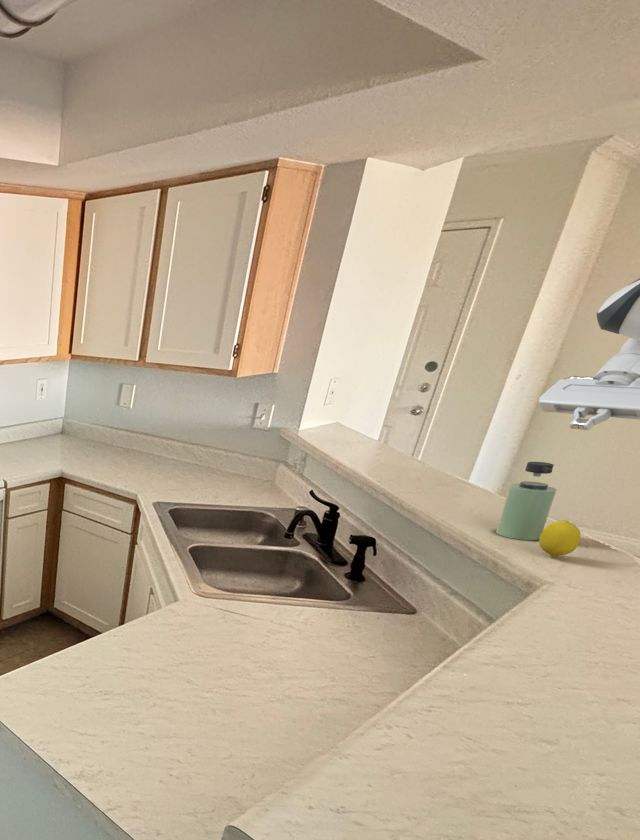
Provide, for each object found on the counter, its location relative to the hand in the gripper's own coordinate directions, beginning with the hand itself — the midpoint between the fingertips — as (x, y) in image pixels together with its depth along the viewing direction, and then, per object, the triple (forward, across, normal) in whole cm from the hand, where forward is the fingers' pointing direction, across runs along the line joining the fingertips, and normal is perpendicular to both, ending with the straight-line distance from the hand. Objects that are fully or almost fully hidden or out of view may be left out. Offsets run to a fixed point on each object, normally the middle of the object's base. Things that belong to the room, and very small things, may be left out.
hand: (578, 427), depth 127 cm
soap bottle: (+23, 0, +11) cm, 25 cm away
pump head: (+14, +1, 0) cm, 14 cm away
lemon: (+29, +11, +4) cm, 32 cm away
